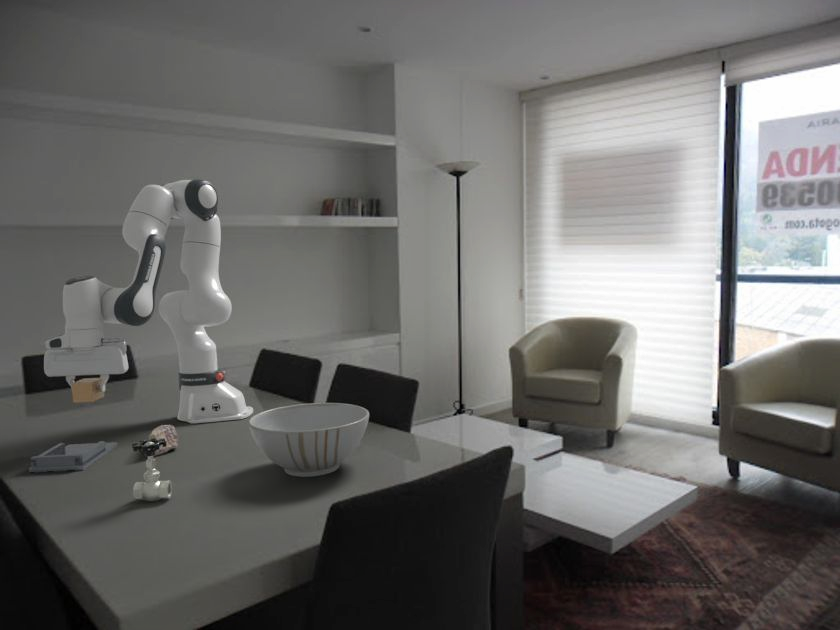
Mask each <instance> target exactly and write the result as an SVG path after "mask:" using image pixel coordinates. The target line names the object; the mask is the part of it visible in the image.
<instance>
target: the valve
mask: <svg viewBox="0 0 840 630" xmlns="http://www.w3.org/2000/svg"><path fill="white" fill-rule="evenodd" d="M154 443H155V444H154ZM161 445H163V447H166V446H167V443H166V441H165V439H164V438H162V439H159V440H157V438H152V439H151V440H149V439H148V440H146V439H140V440H139V442H132V443H131V447H132V451H133V452H139V453H140V454H144V457H147V459H146V460H145V467H146V468H147V470H146V471H145V472H144V473H143V480H145V481H140V482H139V481H136V482H135V483H134V485H133V489H132V497H133V500H134V501H137V502H141V501H146V502H147V501H148V502H156V501H159V500H160V499H161V500H169V499H171V497H172V494H173V485H172V484H173V483H172V481H171V480H159V478H160V475H161V474H160V473H161V472H160V471H159V470H157V469H156V468H155V467H157V463H156V459H155V458H154V457H153V455H155V451H157V450H159V449H160V446H161Z"/></svg>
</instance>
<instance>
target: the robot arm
mask: <svg viewBox="0 0 840 630" xmlns="http://www.w3.org/2000/svg"><path fill="white" fill-rule="evenodd" d="M218 205H219V198H218V192H217V190H216V188H215V185H214V184H212V182H210V181H208V180H204V179H201V178H200V179H198V178H194V179H183V180H181V179H180V180H178V181H174V182H171V183H162V184H160V185H158V184H148V185H146V186H144V187H142V188H141V190H140V191H139V193H138V194H137V196H136V197H135V199H134V201H132V204H131V206H130V209H129V210H128V212H127V215H126V217H125V219H124V222H123V224H122V231H121V234H122V237H123V240H124V241H125V243H126V244H127V245H128V246H129V247H130V248H132V249H133V250H135V251H136V252H137V253H138V261H137V264H136V268H135V271H134V274H133V278H132V281H131V283H130V284H129V285H128V286H126V287H114V286H113V285H112V286H111V285H108V284H106V283H104V282H102V281H101V280H100V279H98V278H97V277H96V276H92V275H85V276H78V277H74V278H70V279H69V280H67V281H66V282H65V283H64V285H63V291H62V310H63V311H62V312H63V315H64V318H65V324H64V334H60V335H58V336H56V337H54V338H51V339H48V340H46V341H45V342H44V344H45V348H46V349H47V350H45V353H44V356H43V371H44V374H45V375H46V376H47V377H50V378H52V377H65V381H66V382H67V384H68V385H69V386H70V387H71V388H70V389H71V393H72V394H73V392H72V383H74V382H76V381H75V379H76V377H77V376H79V377H80V376H98V375H99V378H100V379H102V382H101V384H99V385H97V392H104V393H105V391H106V384H107V382H108V380H109V379H110V375H121V374H125V373H126V372H128V370H129V362H128V355H127V342H125V340H123V339H121V338H119V337H116V338H108V337H107V338H105V337H104V327H103V326H104V325H103V323H106V324H115V325H126V326H131V327H140V326H143V325H145V324H146V323H148V322H149V321H150V320H151V318H152V317H153V315H154V311H155V307H156V293H157V287H158V284H159V278H160V275H161V272H162V267H163V263H164V259H165V254H166V243H165V237H166V234H167V231H168V229H169V225H170V223H171V220H174V219H182V221H183V224H184V234H183V238H182V247H181V256H180V263H179V264H180V265H179V266H180V270H181V272H182V274H184V275H185V276H186V278H187V282H188V286H189V289H187V290H185V289H184V290H183V289H182V290H175V291H172V292H168V293H166V294H164V295H163V296H162V297H161V299H160V300H159V303H158V313H159V316H160V317H161V319H162V320H163V321H164V322H165V323H166V324H167V325H168V327H169V329H170V330H171V333H172V335H173V337H174V340H175V343H176V348H177V353H178V355H177V356H178V364H179V366H178V367H179V372H178V388H179V391H180V395H179V396H180V397H179V407H178V414H177V417H176V419H177V420H179V421H182V422H187V423H189V424H200V423H201V424H203V423H214V422H215V423H216V422H224V421H235V420H236V421H237V420H242V419H246V418H248V417H251V415H252V414H253V413H254V408H253V407H252V406H247V404H246V400H245V396H244V393H242V391H241V390H239V389H238V388H236V387H235V386H233V385H231V384H229V383H228V382H227V381H225V380H226V378H225V377H226V376H225V375H226V374H225V373H226V371H225V370H223V371H222V370H221V369H219V368H218V354H217V353H218V352H217V345H216V343H215V341H213V340H212V338H211V337H209V335H208V334H207V332H206V329H205V327H210V328H211V327H214V326H219V325H222V324H224V323H226V322H227V321H228V320H229V319H230V317H231V315H232V311H233V307H232V302H231V300H230V298H229V296H228V295H227V294H226V293H225V292H224V290H223V287H222V285H221V281H220V274H219V267H220V252H221V243H222V240H221V238H222V231H221V230H222V229H221V220H220V218H219V216H218V215H217V211H218Z"/></svg>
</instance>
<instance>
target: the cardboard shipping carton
mask: <svg viewBox="0 0 840 630" xmlns="http://www.w3.org/2000/svg"><path fill="white" fill-rule="evenodd" d="M101 382H102V379H100V377H88V378H87V377H86V378H81V379H78V380H76V381H75V382H74V383H72V390H71V393H72V392H73V393H72V402H73V403H93V402H96V401H98V400H100V399H102V398H104V397H105V391H104V392H97V385H99V384H101Z"/></svg>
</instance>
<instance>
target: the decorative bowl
mask: <svg viewBox="0 0 840 630" xmlns="http://www.w3.org/2000/svg"><path fill="white" fill-rule="evenodd" d="M369 418H370V412H369V410H368V409H366V408H365V407H362V406H359V405H356V404H349V403H341V402H314V403H300V404H293V405H286V406H285V405H284V406H280V407H275V408H271V409H268V410H264V411H261V412H259V413H257V414H255V415H252V416H251V417H250V419H249V420H248V428H249V430H250V433H251V436H252V438H253V440H254V442H255V443H256V445H257V446H258V448H259V449H260V451H261V452H262V453H263V454H264V455H265V456H266V457H267V458H268V459H269V460H270V461H271V462H273V463H274V464H275V465H277V466H279V467H281V468H283V469H284V472H285V473H286V474H288V475H290V476H293V477H300V478H301V477H303V478H304V477H305V478H307V477H308V478H309V477H319V476H325V475H328V474H331V473H333V472H335V471H337V470H338V469H339V468H340V466H341V465H340V463H343V462H344V461H345V460H346V459H348V458H349V456H351V455H352V454H353V452H354V451H355V450H356V449H357V448H358V446H359V445H360V443H361V441H362V439H363V437H364V435H365V433H366V430H367V427H368V424H369V420H370V419H369Z"/></svg>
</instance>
